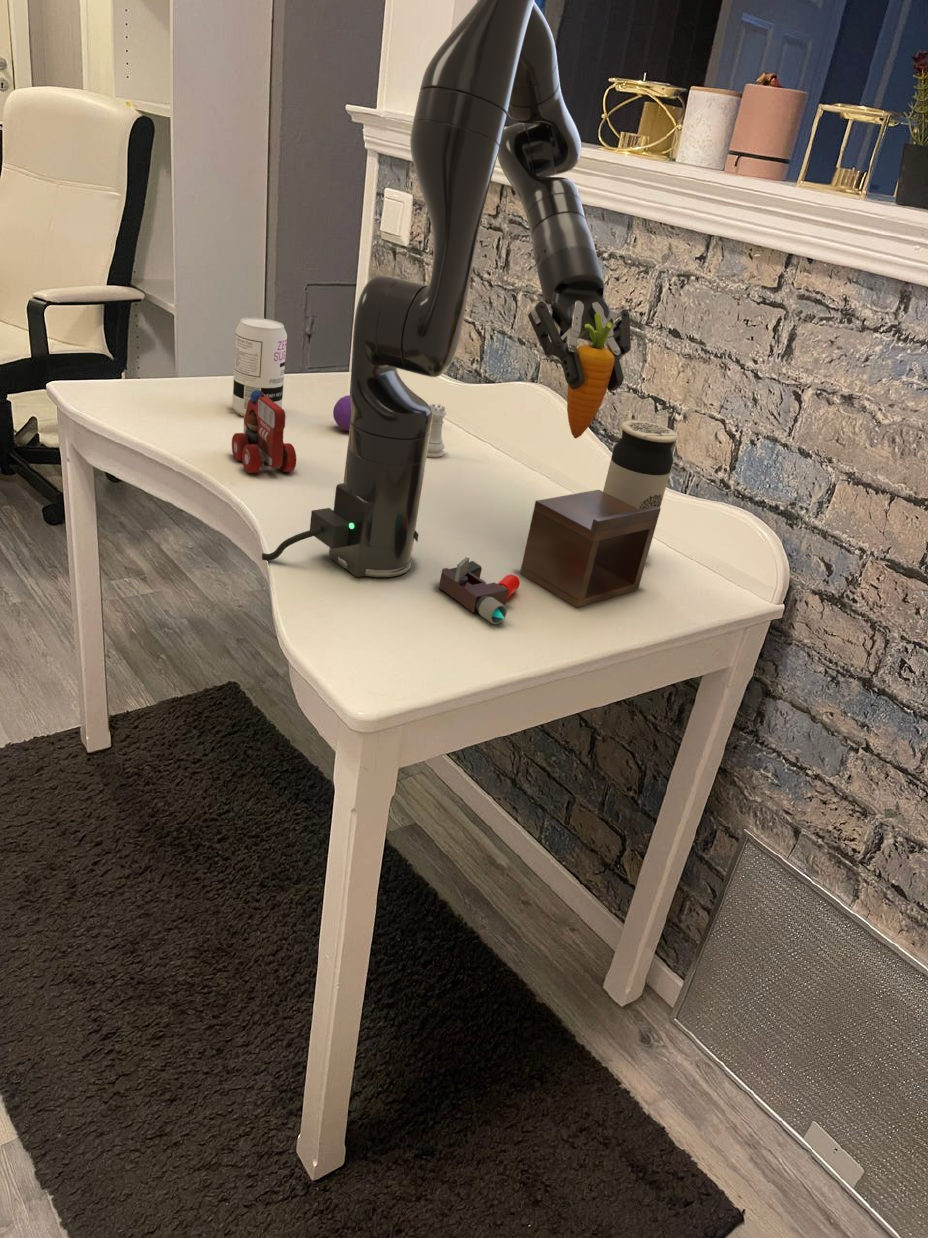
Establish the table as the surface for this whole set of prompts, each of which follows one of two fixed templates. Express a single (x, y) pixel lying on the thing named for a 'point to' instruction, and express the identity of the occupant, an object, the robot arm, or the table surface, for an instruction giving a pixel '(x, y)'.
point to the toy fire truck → (263, 437)
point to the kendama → (343, 412)
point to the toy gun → (478, 590)
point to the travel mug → (641, 464)
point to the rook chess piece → (436, 432)
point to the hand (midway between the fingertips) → (597, 386)
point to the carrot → (590, 379)
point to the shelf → (588, 546)
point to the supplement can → (258, 361)
